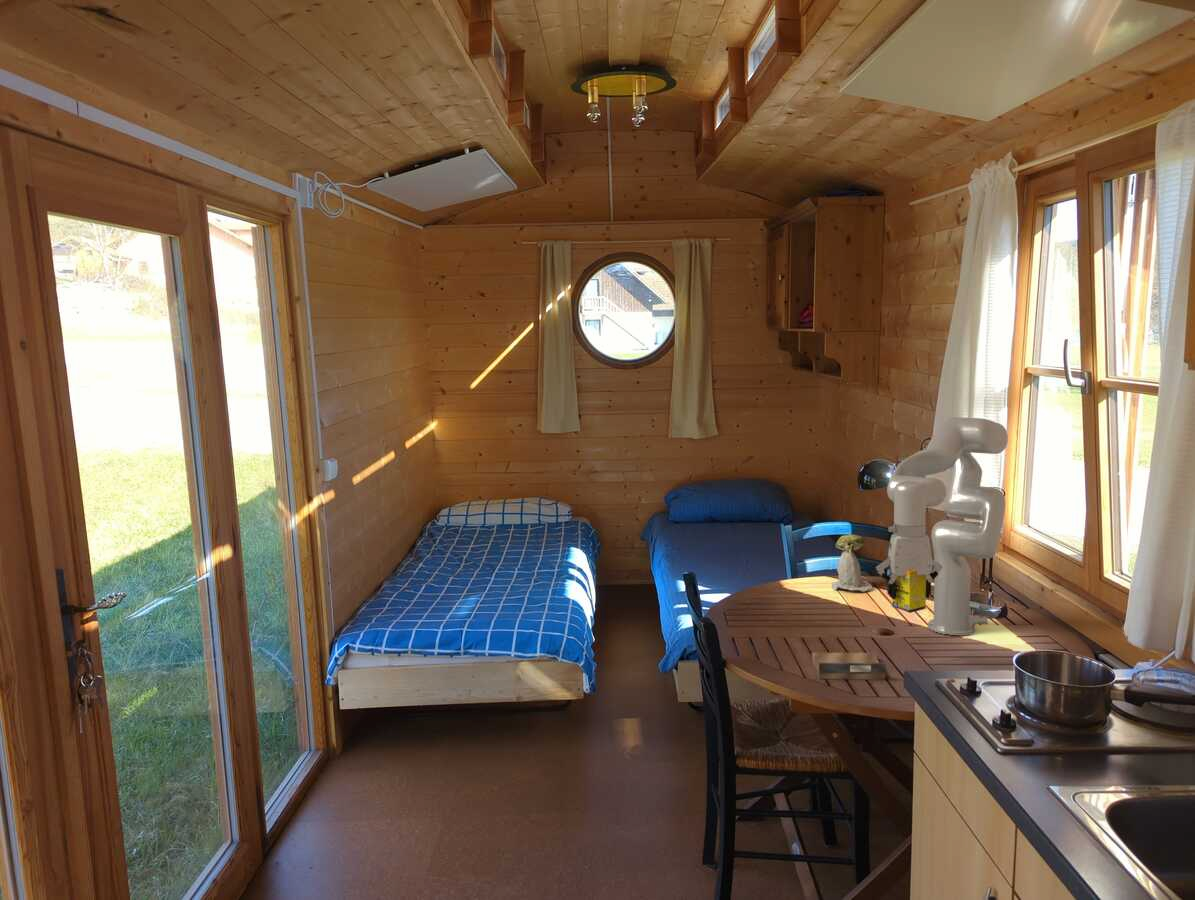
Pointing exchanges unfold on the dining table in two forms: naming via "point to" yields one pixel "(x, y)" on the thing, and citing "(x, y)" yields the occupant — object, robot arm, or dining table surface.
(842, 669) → the flat box
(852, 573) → the clay mushroom sculpture
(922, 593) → the supplement box
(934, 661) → the dining table surface
